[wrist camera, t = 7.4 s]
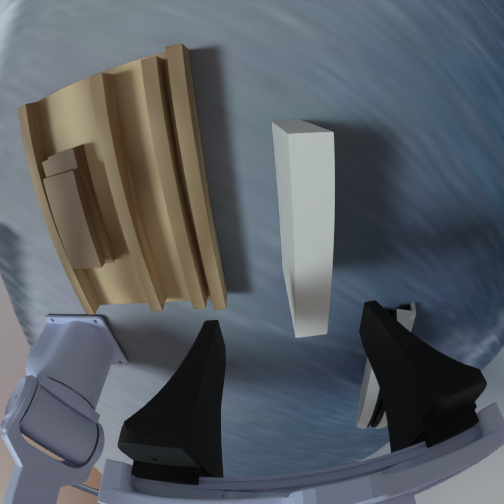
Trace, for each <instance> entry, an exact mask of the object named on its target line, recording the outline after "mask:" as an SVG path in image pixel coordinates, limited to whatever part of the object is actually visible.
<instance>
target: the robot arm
mask: <svg viewBox="0 0 504 504" xmlns="http://www.w3.org/2000/svg"><path fill="white" fill-rule="evenodd" d="M45 321H46V322H47V325H46V326H45V328H44V329H43V331H42V333H41V334H40V336H39V338H38V339H37V341H36V343H35V344H34V346H33V348H32V349H31V351H30V353H29V355H28V357H27V361H26V374H27V376H25V377H23V378H22V379H21V380H20V382H19V383H18V384H17V386H16V387H15V389H14V391H13V393H12V394H11V397H10V398H9V401H8V403H7V406H6V410H5V414H4V417H3V419H2V422H1V425H0V427H1V436H2V438H3V440H4V442H5V444H6V446H7V447H8V449H9V451H10V453H11V455H12V457H13V458H14V460H15V466H14V469H13V472H12V475H11V478H10V481H9V485H8V488H7V491H6V495H5V499H4V502H3V504H56V501H57V498H58V494H59V490H60V488H61V487H63V486H68V485H73V484H78V483H82V482H85V481H87V478H88V476H89V474H90V471H91V469H92V467H93V466H94V464H95V463H96V462H97V460H98V459H99V457H100V456H101V453H102V451H103V447H104V440H105V439H104V431H103V428H102V426H101V424H100V423H98V420H99V416H100V414H98V413H97V412H96V411H95V409H96V406H97V403H98V400H99V397H100V394H101V391H102V388H103V386H104V383H105V380H106V377H107V375H108V372H109V369H110V366H111V364H120V365H127V363H128V360H127V359H126V357H125V356H124V354H123V352H122V351H121V349H120V347H119V346H118V344H117V342H116V340H115V339H114V337H113V335H112V333H111V332H110V330H109V328H108V326H107V324H106V323H105V321H104V319H103V318H102V317H101V316H59V315H46V316H45ZM359 332H360V336H361V340H362V343H363V347H364V350H365V352H366V355H367V357H368V360H369V362H370V364H371V367H372V369H373V372H374V374H375V377H376V379H377V382H378V385H379V388H380V391H381V395H382V399H383V403H384V408H385V413H386V418H387V424H388V430H389V438H390V447H391V453H390V454H387V455H383V456H380V457H377V458H373V459H369V460H365V461H362V462H357V463H353V464H349V465H344V466H340V467H335V468H330V469H324V470H318V471H312V472H305V473H298V474H289V475H280V476H267V477H247V478H224V477H223V464H222V447H221V401H222V393H223V384H224V375H225V366H226V354H225V344H224V340H223V337H222V333H221V329H220V325H219V322H218V320H209V321H205V322H204V324H203V326H202V328H201V330H200V332H199V334H198V336H197V338H196V340H195V342H194V344H193V345H192V347H191V349H190V351H189V352H188V354H187V356H186V357H185V359H184V360H183V362H182V363H181V365H180V366H179V368H178V369H177V371H176V372H175V373H174V375H173V376H172V377H171V379H170V380H169V381H168V382H167V383H166V385H165V386H164V387H163V388H162V389H161V390H160V391H159V392H158V393H157V394H156V395H155V396H154V397H153V398H152V399H151V400H150V401H149V402H148V403H147V404H146V405H145V406H144V407H143V408H141V409H140V410H139V411H138V412H136V413H135V414H134V415H132V416H131V417H130V418H128V419H127V420H125V421H124V424H123V426H122V429H121V432H120V437H119V441H118V448H119V449H120V450H121V451H122V452H123V453H124V454H126V455H127V456H129V457H130V458H131V459H133V460H134V462H133V466H132V465H130V464H127V463H123V462H118V461H113V460H109V459H106V460H105V465H104V469H103V474H102V479H101V484H100V489H99V494H98V500H97V501H98V502H99V503H102V504H416V502H415V498H414V495H415V494H418V493H420V492H422V491H424V490H427V489H429V488H431V487H433V486H435V485H437V484H440V483H442V482H444V481H445V480H447V479H449V478H451V477H453V476H455V475H457V474H459V473H461V472H462V471H464V470H466V469H468V468H469V467H471V466H473V465H474V464H476V463H478V462H479V461H481V460H483V459H484V458H486V457H487V456H489V455H490V454H492V453H493V452H494V451H495V450H497V449H498V448H499V447H501V446H502V445H503V444H504V419H503V416H502V414H501V412H500V410H499V408H498V406H497V404H496V403H493V404H491V405H489V406H488V407H486V408H484V409H482V410H481V411H479V412H478V413H477V414H476V412H475V410H474V409H476V407H477V406H476V404H475V401H476V399H477V398H478V397H479V396H480V395H481V393H482V392H483V391H484V389H485V388H486V385H487V382H486V380H485V378H484V376H483V375H482V373H481V371H480V369H477V368H474V367H471V366H468V365H466V364H463V363H461V362H458V361H456V360H454V359H452V358H450V357H448V356H446V355H444V354H442V353H440V352H439V351H437V350H435V349H434V348H432V347H431V346H429V345H428V344H426V343H425V342H423V341H422V340H420V339H419V338H418V337H416V336H415V335H414V334H413V333H411V332H410V331H409V330H408V329H406V328H405V327H404V326H403V325H402V324H401V323H400V322H398V321H397V320H396V319H395V318H394V317H393V316H392V315H391V314H390V313H389V312H388V311H386V310H385V309H384V308H383V307H382V306H381V305H380V304H379V303H378V302H377V301H370V302H365V303H364V309H363V314H362V320H361V325H360V330H359ZM21 433H22V434H24V435H25V436H27V437H28V438H30V439H31V440H33V441H34V442H36V443H38V444H39V445H40V446H42V447H44V448H45V449H47V450H49V451H50V452H52V453H54V454H55V455H57V456H59V457H61V458H63V459H64V460H65V461H59V460H56V459H54V458H52V457H50V456H49V455H47V454H45V453H43V452H42V451H40V450H38V449H37V448H35V447H34V446H32V445H31V444H29V443H28V442H27V441H26V440H25V439H24V438H23V436H22V434H21ZM377 472H381V473H377ZM302 488H303V489H302ZM294 489H300V490H296V491H293V492H287V493H281V494H273V495H264V496H260V494H259V493H256V492H273V491H285V490H294Z"/></svg>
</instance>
